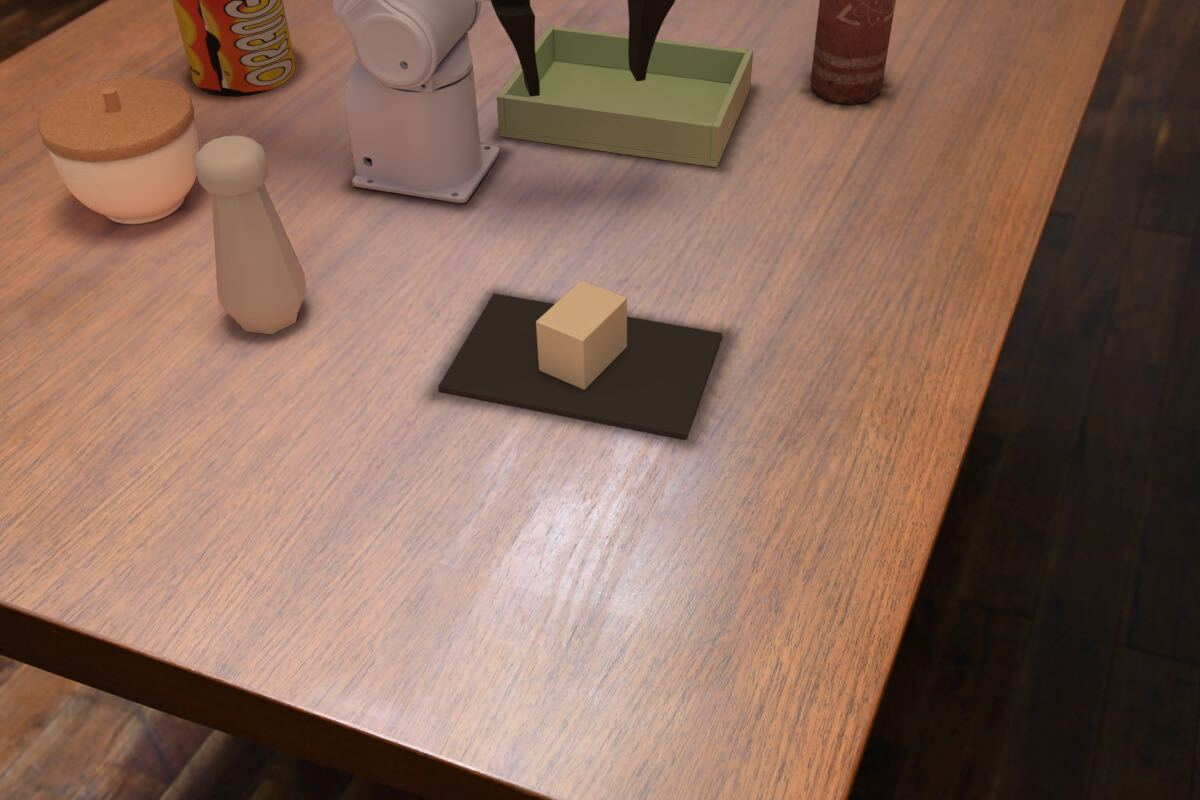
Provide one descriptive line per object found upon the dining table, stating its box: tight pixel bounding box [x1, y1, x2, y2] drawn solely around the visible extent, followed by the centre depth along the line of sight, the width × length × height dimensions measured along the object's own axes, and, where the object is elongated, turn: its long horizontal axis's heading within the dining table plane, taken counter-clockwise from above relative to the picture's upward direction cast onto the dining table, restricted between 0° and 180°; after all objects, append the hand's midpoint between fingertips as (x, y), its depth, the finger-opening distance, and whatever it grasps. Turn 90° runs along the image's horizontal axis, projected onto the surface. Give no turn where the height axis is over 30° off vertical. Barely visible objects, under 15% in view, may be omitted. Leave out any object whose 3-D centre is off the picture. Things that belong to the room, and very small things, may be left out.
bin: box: [496, 25, 754, 168], centre depth 101 cm, size 18×13×4 cm
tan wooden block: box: [536, 280, 628, 390], centre depth 76 cm, size 4×5×4 cm
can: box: [810, 0, 897, 105], centre depth 100 cm, size 6×6×14 cm
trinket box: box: [37, 76, 201, 225], centre depth 89 cm, size 11×11×9 cm
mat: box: [437, 292, 723, 440], centre depth 78 cm, size 16×10×1 cm, turn 73°
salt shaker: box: [195, 134, 307, 335], centre depth 78 cm, size 6×6×13 cm
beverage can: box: [171, 0, 296, 97], centre depth 104 cm, size 9×9×12 cm
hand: (585, 82), depth 86 cm, fingers open, 7 cm apart
